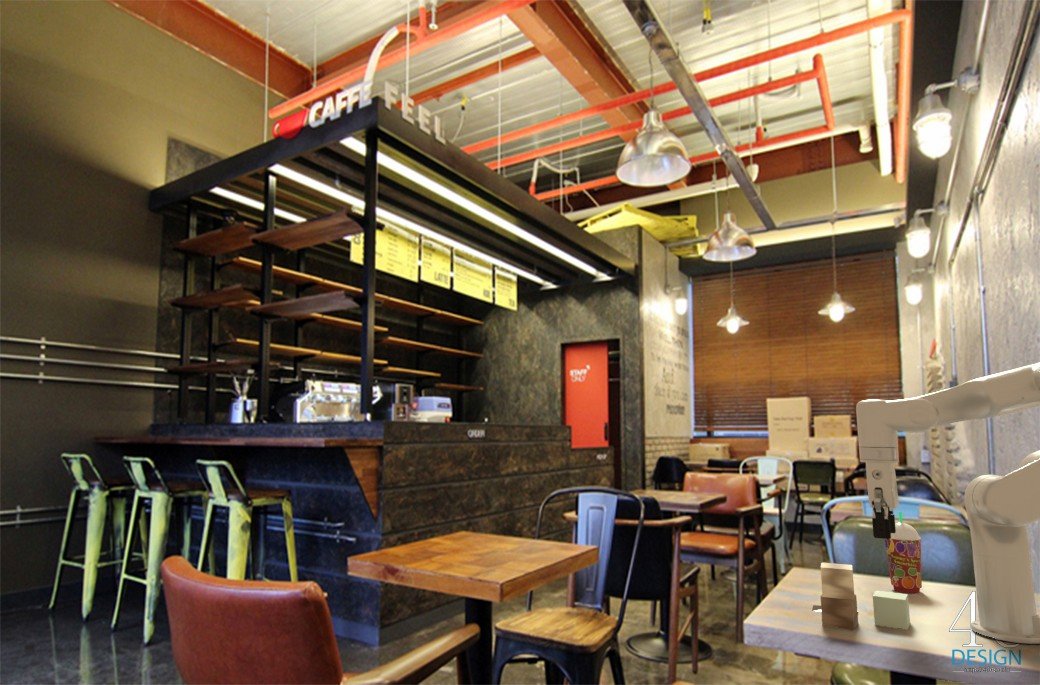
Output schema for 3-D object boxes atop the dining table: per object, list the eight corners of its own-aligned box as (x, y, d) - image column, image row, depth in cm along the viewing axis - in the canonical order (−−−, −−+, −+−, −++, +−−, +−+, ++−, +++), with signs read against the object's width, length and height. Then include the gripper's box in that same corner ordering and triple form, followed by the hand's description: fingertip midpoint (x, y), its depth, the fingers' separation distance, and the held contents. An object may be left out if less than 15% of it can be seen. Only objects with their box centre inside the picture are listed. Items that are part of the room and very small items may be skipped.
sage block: (910, 623, 136) (907, 594, 137) (907, 630, 131) (905, 600, 132) (878, 618, 139) (876, 590, 140) (874, 625, 134) (872, 595, 135)
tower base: (858, 623, 135) (856, 594, 136) (854, 630, 130) (851, 600, 131) (827, 619, 139) (825, 590, 140) (822, 625, 134) (820, 596, 135)
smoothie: (892, 593, 161) (886, 512, 164) (884, 586, 169) (878, 509, 172) (930, 596, 159) (923, 514, 162) (920, 588, 167) (913, 510, 170)
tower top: (854, 593, 137) (852, 564, 138) (854, 600, 131) (852, 570, 132) (823, 590, 139) (821, 562, 140) (822, 596, 134) (820, 567, 135)
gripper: (894, 456, 131) (901, 542, 129) (902, 455, 145) (908, 532, 143) (853, 456, 136) (859, 538, 133) (865, 454, 150) (870, 529, 147)
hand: (885, 535), depth 138 cm, fingers open, 9 cm apart
